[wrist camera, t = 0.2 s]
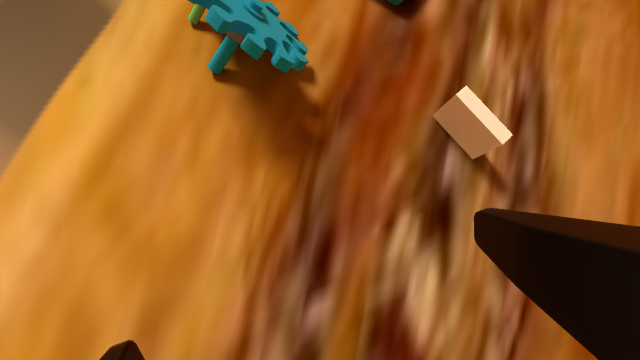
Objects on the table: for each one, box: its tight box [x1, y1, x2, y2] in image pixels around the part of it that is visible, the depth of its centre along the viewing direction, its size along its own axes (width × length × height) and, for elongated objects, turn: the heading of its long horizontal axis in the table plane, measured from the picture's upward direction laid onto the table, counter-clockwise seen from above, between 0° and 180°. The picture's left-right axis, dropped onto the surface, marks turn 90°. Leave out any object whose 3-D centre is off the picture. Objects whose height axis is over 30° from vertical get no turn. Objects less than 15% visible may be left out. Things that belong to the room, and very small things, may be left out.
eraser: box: [432, 86, 513, 159], centre depth 25 cm, size 1×5×4 cm, turn 41°
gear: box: [188, 0, 309, 74], centre depth 24 cm, size 11×6×10 cm
